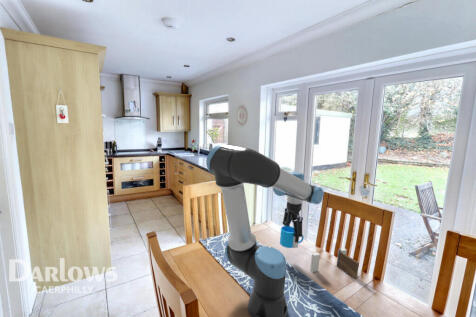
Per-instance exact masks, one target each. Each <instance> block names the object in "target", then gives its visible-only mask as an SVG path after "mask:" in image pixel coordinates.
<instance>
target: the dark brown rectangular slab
mask: <svg viewBox="0 0 476 317" xmlns="http://www.w3.org/2000/svg"><path fill="white" fill-rule="evenodd" d="M359 266H360V262H358V261H357V260H355V259H353V258H352V257H350V256H349V255H347V253H346V254H344V253H342V252H341V253H340V259H339V267H338V268H339V269H340V270H342V271H343V272H345V273H346V274H347V275H349V276H350V277H353V279H355V280H356V279H358V275H359V274H358V273H359Z"/></svg>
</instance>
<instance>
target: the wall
mask: <svg viewBox="0 0 476 317" xmlns="http://www.w3.org/2000/svg"><path fill="white" fill-rule="evenodd" d="M347 251H348V250H347V248H338V250H337V259H336V267H337V268H339V259H340V253H341V252H342V253H344V254H346V255H347ZM320 257H321V254H320V253H319V252H314V253H311V261H310V262H311V263H310V272H311V273H316V272H318V271H319V267H320V259H321V258H320Z"/></svg>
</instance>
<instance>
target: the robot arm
mask: <svg viewBox="0 0 476 317" xmlns="http://www.w3.org/2000/svg"><path fill="white" fill-rule="evenodd" d="M205 162H206V163H205V164H206V169H207V170H208V172H209V173H210V174H212V175H214V180H215V184H216V186H217V187H219V188H220V189H221V190H220V191H221V195H222V200H223V205H224V210H225V215H226V221H227V225H228V226H227V227H228V231H229V237H228V240H227V242H226V243H225V245H226V246H225V247H224V254H225V258H226V260H227V261H228V262H229V263H230V265H232V266H234V267H235V268H237V269H238V270H239V271H241V272H242V273H244V275H246V276H248V277H249V278H251V279H252V280H253V289H252V291H251V293H250V296H249V298H248V303H247V304H248V305H247V310H248V313H249V315H250V317H286V316H287V317H288V303H287V301H286V296H285V286H286V284H285V283H286V273H287V261H286V258H285V255H284V254H283V253H282V252H281V251H280V250H279V249H277V248H275V247H272V246H270V247H269V245H268V246H267V245H265V246H264V245H263V246H258V244H257V238H256V235H255V234H254V233H253V232H252V231H251V224H250V223H251V222H250V217H249V210H248V204H247V197H246V193H245V192H246V191H245V185H244V184H250V185H256V186H259V187H263V188H265V189H266V188H267V189H268V188H272V191H273V193H274V195H276V196H277V197H284V196H287V197H286V198H287V199H286V200H287V201H286V207H285V208H284V215H283V220H282V225H283V226H291V223H292V225H293V226H292V227H294V234H295V235H293V248H292V249H296V248H299V244H298V242H299V241H300V238H302V235H303V220H304V218H303V216H301V215H300V212H301V210H302V205H303V203H302V202H307V203H310V204H314V205H320V204H321V203H322V201H323V198H324V190H323V188H322V187H320V186H317V185H312V184H310V183H308V182H306V181H305V174H304V173H303V172H299V171H291V172H288V171H287V170H284V169H283V168H281V167H280V164H278V162H276V161H274V160H273V159H271V158H270V157H268V156H266V155H264V154H263V153H261V152H259V151H257V150H255V149H252V148H249V147H241V146H236V145H235V146H234V145H230V144H218V145H215V146H213V148H212V149H210V151H209V153H208V154H207V157H206V161H205Z"/></svg>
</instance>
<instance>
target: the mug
mask: <svg viewBox="0 0 476 317" xmlns="http://www.w3.org/2000/svg"><path fill="white" fill-rule="evenodd" d="M293 235H295V234H294V226H291V225H290V226H284V225H283V226H281V227H280V237H279V244H280V245H281V247H283V248H287V249H294V248H293ZM302 242H304V235H303V234H302V237H301V239H299V242H298V245H299V244H301V243H302Z"/></svg>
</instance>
